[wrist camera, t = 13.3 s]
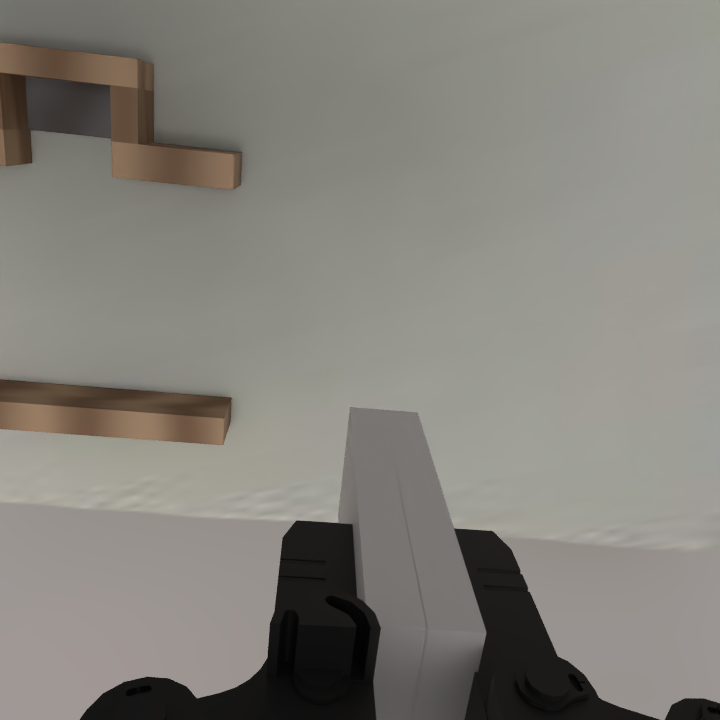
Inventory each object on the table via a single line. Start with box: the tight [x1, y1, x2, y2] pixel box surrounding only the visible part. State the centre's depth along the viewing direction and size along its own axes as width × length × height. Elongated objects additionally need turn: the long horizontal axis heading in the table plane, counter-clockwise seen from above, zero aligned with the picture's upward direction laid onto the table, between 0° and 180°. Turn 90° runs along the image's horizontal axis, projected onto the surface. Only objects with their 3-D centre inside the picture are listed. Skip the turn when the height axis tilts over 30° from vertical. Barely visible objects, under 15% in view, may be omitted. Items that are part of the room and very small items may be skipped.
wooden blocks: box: [0, 43, 242, 445], centre depth 41 cm, size 18×24×4 cm
